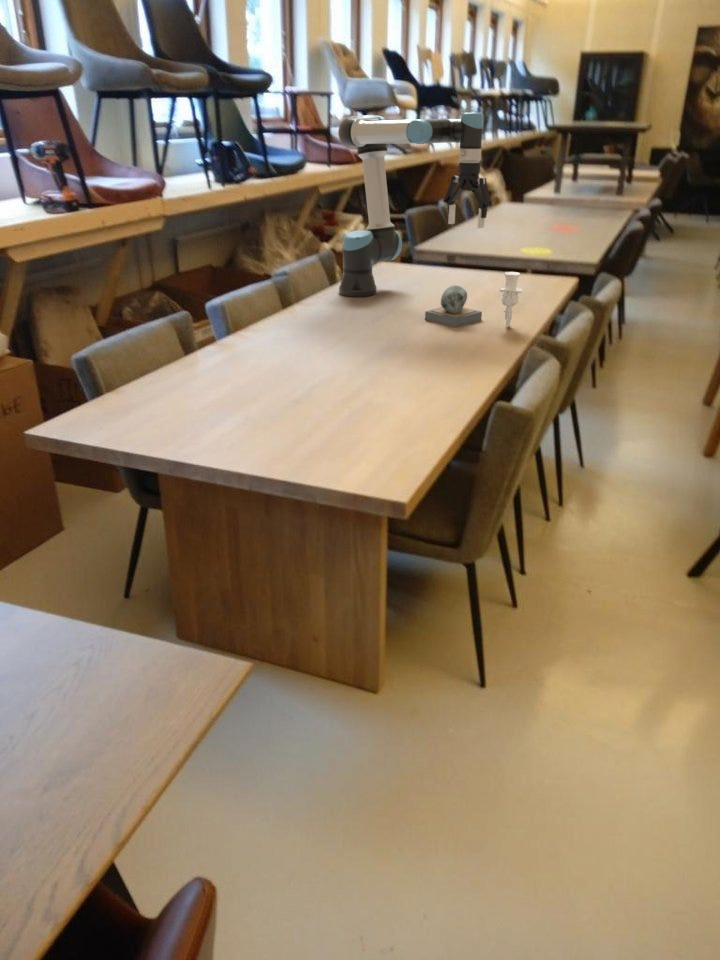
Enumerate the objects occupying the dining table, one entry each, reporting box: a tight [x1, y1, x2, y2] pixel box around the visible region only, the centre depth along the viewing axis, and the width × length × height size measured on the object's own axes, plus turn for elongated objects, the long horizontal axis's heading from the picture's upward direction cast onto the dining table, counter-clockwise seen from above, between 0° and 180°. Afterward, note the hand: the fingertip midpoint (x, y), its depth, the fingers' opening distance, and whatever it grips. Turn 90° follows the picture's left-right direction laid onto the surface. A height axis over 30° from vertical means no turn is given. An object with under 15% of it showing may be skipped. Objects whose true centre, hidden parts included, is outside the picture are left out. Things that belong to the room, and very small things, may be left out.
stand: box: [424, 306, 483, 328], centre depth 262 cm, size 14×14×3 cm
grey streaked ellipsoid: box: [440, 285, 468, 314], centre depth 260 cm, size 14×10×10 cm
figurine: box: [498, 271, 523, 328], centre depth 250 cm, size 10×8×18 cm
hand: (465, 225), depth 269 cm, fingers open, 13 cm apart
